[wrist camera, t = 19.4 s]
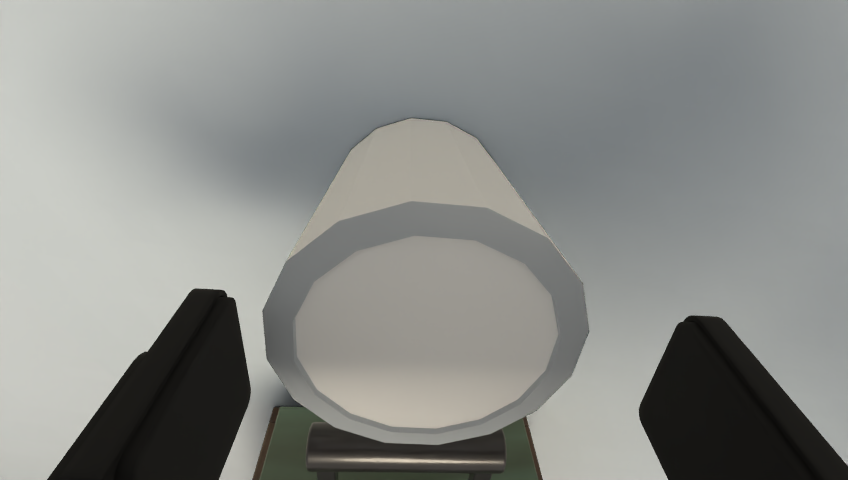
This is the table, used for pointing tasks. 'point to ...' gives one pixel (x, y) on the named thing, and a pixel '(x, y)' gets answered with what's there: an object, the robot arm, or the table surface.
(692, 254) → the table surface
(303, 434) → the drawer
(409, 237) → the white cup
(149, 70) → the table surface
